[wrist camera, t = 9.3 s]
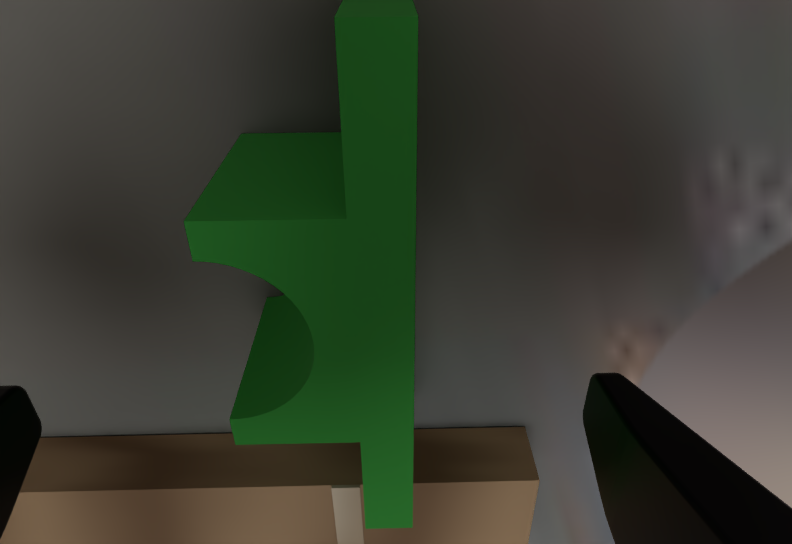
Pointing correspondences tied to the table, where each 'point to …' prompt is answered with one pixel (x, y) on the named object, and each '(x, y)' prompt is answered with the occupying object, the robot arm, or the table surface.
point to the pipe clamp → (333, 262)
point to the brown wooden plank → (269, 491)
